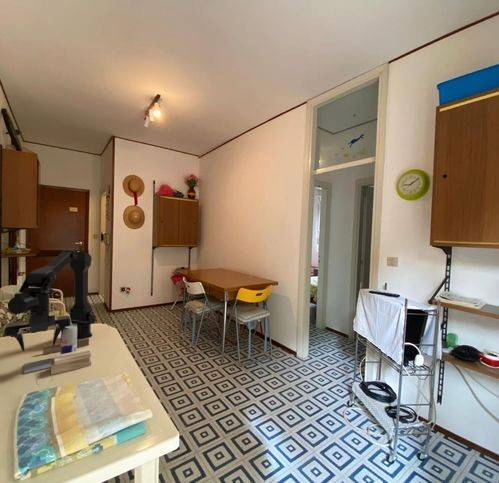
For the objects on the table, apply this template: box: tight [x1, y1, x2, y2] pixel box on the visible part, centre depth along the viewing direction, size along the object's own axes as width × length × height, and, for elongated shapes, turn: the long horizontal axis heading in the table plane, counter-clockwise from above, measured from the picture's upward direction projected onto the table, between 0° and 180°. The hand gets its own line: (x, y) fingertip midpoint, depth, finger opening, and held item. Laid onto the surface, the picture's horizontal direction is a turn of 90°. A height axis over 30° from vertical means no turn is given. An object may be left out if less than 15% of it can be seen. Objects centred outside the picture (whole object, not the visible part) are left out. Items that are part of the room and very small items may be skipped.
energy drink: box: [59, 324, 78, 355], centre depth 107 cm, size 5×5×12 cm
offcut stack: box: [50, 348, 92, 376], centre depth 99 cm, size 5×12×4 cm, turn 129°
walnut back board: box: [42, 337, 90, 355], centre depth 113 cm, size 1×16×3 cm, turn 129°
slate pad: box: [23, 357, 53, 375], centre depth 98 cm, size 8×8×1 cm
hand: (38, 348), depth 98 cm, fingers open, 8 cm apart
